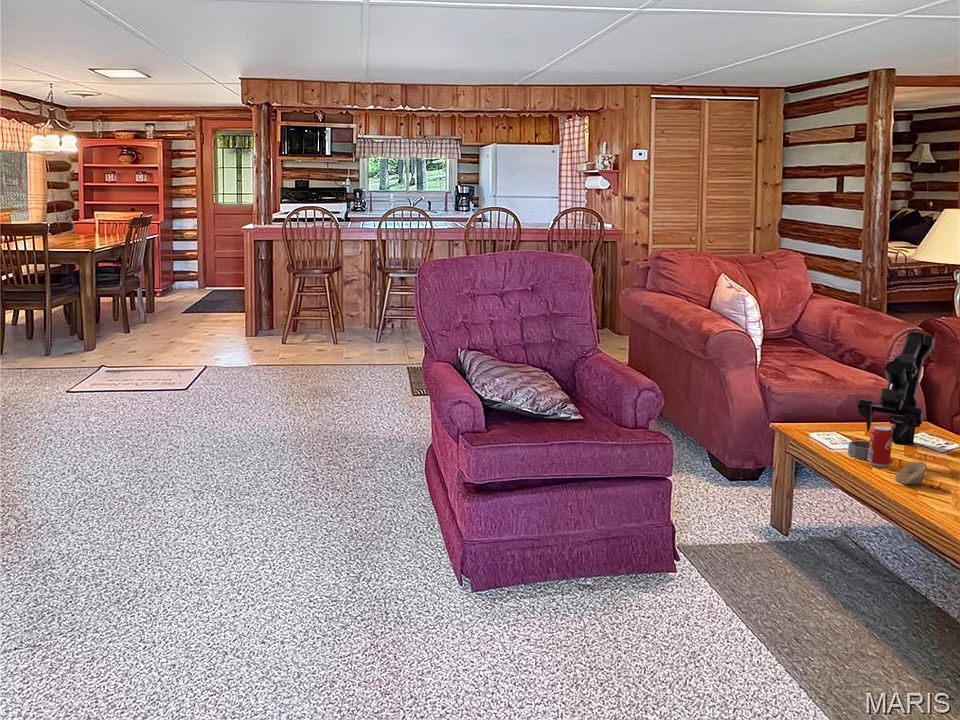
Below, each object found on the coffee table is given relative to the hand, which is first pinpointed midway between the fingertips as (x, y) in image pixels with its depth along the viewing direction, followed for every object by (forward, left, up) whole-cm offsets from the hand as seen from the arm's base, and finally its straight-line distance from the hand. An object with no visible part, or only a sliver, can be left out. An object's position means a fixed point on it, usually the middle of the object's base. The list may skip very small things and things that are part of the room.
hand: (883, 433), depth 281 cm
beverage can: (+1, +2, -10) cm, 10 cm away
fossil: (-4, +19, -10) cm, 22 cm away
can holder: (+3, -7, -10) cm, 12 cm away
